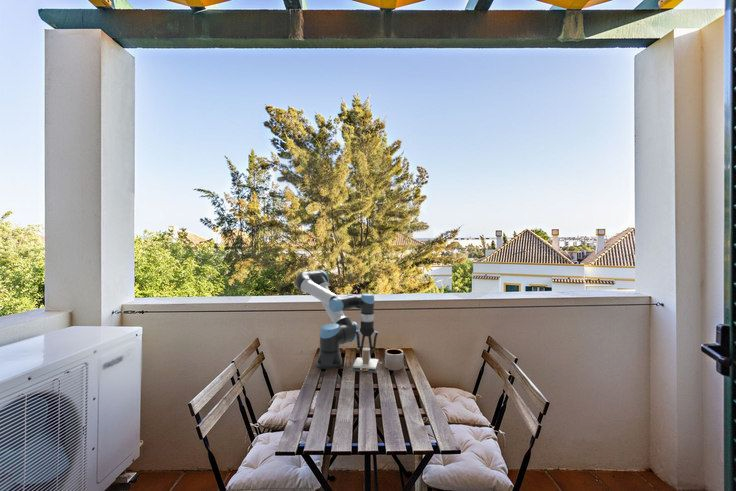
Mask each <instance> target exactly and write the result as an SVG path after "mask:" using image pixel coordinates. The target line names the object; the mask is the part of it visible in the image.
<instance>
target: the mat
mask: <svg viewBox="0 0 736 491" xmlns="http://www.w3.org/2000/svg"><path fill="white" fill-rule="evenodd" d="M355 361H356V359H354V361H353V363H352V364H351V365H350V366H351V367H350V368H349V371H352V372H361V370H360V368H354V367H353V365H354V363H355ZM378 363H380V364H382V365H383V361H379V360H378ZM380 364H379V365H380ZM363 370H364V369H363ZM362 372H363V371H362ZM363 373H364V372H363ZM367 373H375V374H376V373H377V367H376V369H369V370H368V372H367ZM377 374H378V373H377Z"/></svg>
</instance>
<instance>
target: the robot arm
mask: <svg viewBox="0 0 736 491" xmlns="http://www.w3.org/2000/svg"><path fill="white" fill-rule="evenodd" d="M329 278H330V277H329V275H328V273H327V272H325V271H324V270H318V269H316V270H309V271H308V270H307V271H303V272H300V273H298V275H297V276H296V278H295V279H294V280H295V285H296V288H297V289H298V291H300V292H302V293H304V294H306V293H307V294H308V295H310V296H312V297H314V298H316V299H317V300H319V301H320V302H321V304H322V306H323V308H324V309H325V312H326V313H327V315H328V316H329V318H330V320H331V322H332V323H327V324H324V325H322V326H321V327H320V329H319V353H318V356H317V360H316V367H317V368H319V369H322V370H333V368H334V369H337V368H336V367H338V368H340V367H342V365H343V359H342V355H341V352H340V346H341V345H344V344H347V343H352V342H353V341H356V344H357V348H358V349H360V355H361V358H362V360H363V350H364V348H365V347H364V344H365V339H366V338H368V343H369V345H368V346H369V347H368V348H369V357H368V361H370V359H371V356H372V355H373V350H375V349H376V346H377V345H376V344H377V339H378V335H379V331H376V330H375V329H374V326H375V324H374V323H375V322H374V320H375V295H374V294H373V293H362V294H361V295H358V294H355V293H349V294H347V295H346V296H339V295H338V294H335V293H333V292H331V290H330V288H329V286H330V280H329ZM351 309H359V310H360V326H359V324H358V323H357V322H356V321H352V320H351V319H350V317H349V316H346V315H345V314H344V311H347V310H351ZM360 333H361V335H362V339H361V337H360ZM372 335H374V337H373V340H372Z"/></svg>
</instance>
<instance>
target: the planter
mask: <svg viewBox="0 0 736 491" xmlns="http://www.w3.org/2000/svg"><path fill="white" fill-rule="evenodd" d="M385 367H386V368H388V369H387V370H390V371H401V370H402V368H403V369H404V350H402V349H399V348H387V349H386V350H385V351H384V368H385ZM400 369H401V370H400Z"/></svg>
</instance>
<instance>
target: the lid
mask: <svg viewBox="0 0 736 491" xmlns="http://www.w3.org/2000/svg"><path fill="white" fill-rule="evenodd" d="M363 348H364V350H363V360H362V357H356V359H355V360H356V361H355V363H354V365H353V367H354V368H366V369H376V367H377V364H378V361H379V358H370V361H368V357H369V348H370V347H363Z"/></svg>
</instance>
